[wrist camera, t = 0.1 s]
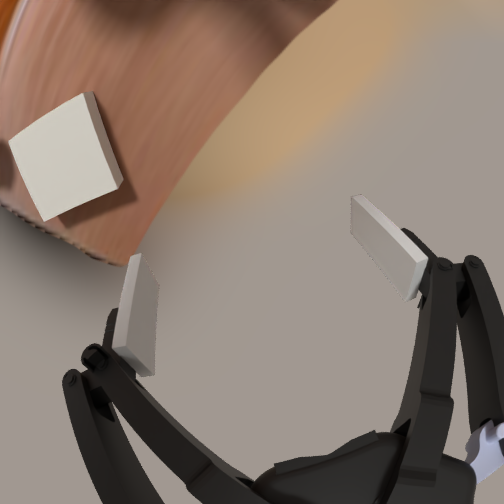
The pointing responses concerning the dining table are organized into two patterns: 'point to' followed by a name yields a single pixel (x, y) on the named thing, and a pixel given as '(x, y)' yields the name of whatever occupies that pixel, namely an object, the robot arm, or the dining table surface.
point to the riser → (66, 157)
